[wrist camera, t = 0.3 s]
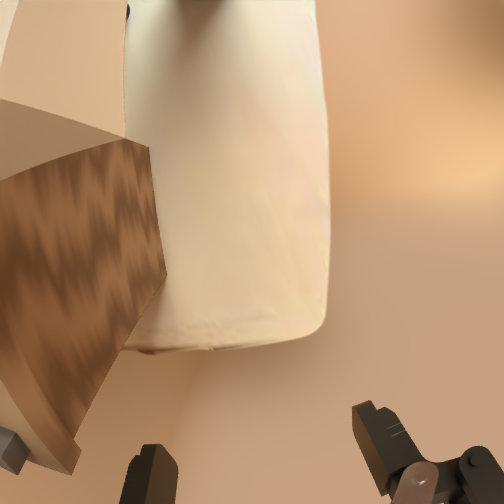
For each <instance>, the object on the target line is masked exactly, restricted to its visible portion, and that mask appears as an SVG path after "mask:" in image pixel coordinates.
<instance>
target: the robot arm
mask: <svg viewBox="0 0 504 504" xmlns="http://www.w3.org/2000/svg"><path fill="white" fill-rule="evenodd" d="M352 426H353V432H354V436H355V438H356V441H357V443H358V445H359V447H360V449H361V452H362V454H363V456H364V458H365V461H366V463H367V465H368V467H369V470H370V472H371V474H372V476H373V478H374V480H375V483H376V485H377V487H378V490H379V492H380V494H381V496H384V495H386V494H389V496H390V498H391V500H392V501H391V503H390V504H440V503H444V504H504V472H503V471H502V469H501V467H500V466H499V465H498V463H497V461H496V460H495V458H494V457H493V455H492V454H491V453H490V451H489V450H488V449H487V448H485V447H483V446H474V447H471V448H469V449H468V450H466V451H465V452H464V453H463V455H462V456H461V457H458V458H455V459H452V460H448V461H445V462H439V463H435V462H430V461H428V460H426V459H425V458H424V457H423V456H422V455H421V453H420V452H419V450H418V449H417V447H416V445H415V444H414V442H413V441H412V439H411V437H410V436H409V434H408V433H407V431H405V428H404V427H403V425H402V424H401V422H400V420H399V419H398V417H397V415H396V414H395V413H394V412H393V411H391V410H389V409H388V408H386V407H383V408H381V409H378V410H376V408H375V407H374V405H373V403H372V402H371V401H370V400H368V401H366V402H363V403H361V404H358V405H355V406H353V407H352ZM177 479H178V466H177V464H176V462H175V460H174V459H173V458H172V457H171V456H170V454H169V453H168V452H167V451H166V449H165V448H164V447H163V446H162V445H161V444H145V445H143V446H142V449H141V452H140V455H136V456H135V457H134V458H133V459H132V461H131V462H130V464H129V467H128V471H127V475H126V478H125V482H124V486H123V490H122V494H121V498H120V502H119V504H175V497H176V488H177Z"/></svg>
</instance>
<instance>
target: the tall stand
mask: <svg viewBox="0 0 504 504" xmlns="http://www.w3.org/2000/svg"><path fill="white" fill-rule="evenodd" d="M166 275H167V272H166V267H165V262H164V256H163V251H162V245H161V239H160V233H159V227H158V220H157V214H156V207H155V199H154V192H153V184H152V175H151V166H150V157H149V147H146V146H144V145H141V144H138V143H136V142H133V141H130V140H127V139H121V140H117V141H113V142H109V143H105V144H102V145H98V146H95V147H91V148H88V149H84V150H81V151H78V152H75V153H71V154H68V155H65V156H62V157H59V158H56V159H54V160H51V161H48V162H45V163H43V164H40V165H37V166H35V167H32V168H30V169H27V170H25V171H22V172H20V173H17V174H15V175H13V176H10V177H8V178H6V179H3V180H1V181H0V466H1V467H2V468H4V469H6V470H8V471H10V472H12V473H14V474H16V475H19V473H20V471H21V469H22V467H23V465H24V463H25V461H26V460H28V461H31V462H33V463H36V464H38V465H41V466H44V467H46V468H49V469H52V470H55V471H58V472H61V473H64V474H68V475H72V473H73V470H74V468H75V466H76V463H77V461H78V458H79V456H80V454H81V451H82V450H81V449H80V448H79V447H78V445H77V444H76V442H75V441H74V440H73V439H74V437H75V435H76V433H77V431H78V428H79V426H80V424H81V423H82V421H83V419H84V417H85V414H86V412H87V411H88V409H89V407H90V405H91V403H92V401H93V399H94V397H95V395H96V393H97V392H98V390H99V388H100V386H101V384H102V382H103V381H104V379H105V377H106V375H107V373H108V371H109V369H110V368H111V366H112V364H113V363H114V361H115V359H116V357H117V355H118V353H119V352H120V350H121V349H122V347H123V345H124V343H125V342H126V340H127V338H128V337H129V335H130V333H131V332H132V330H133V328H134V326H135V325H136V323H137V322H138V320H139V318H140V317H141V315H142V313H143V312H144V310H145V308H146V307H147V305H148V304H149V302H150V300H151V299H152V297H153V296H154V294H155V292H156V291H157V289H158V288H159V286H160V285H161V283H162V281H163V280H164V278H165V277H166Z"/></svg>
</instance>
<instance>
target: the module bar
mask: <svg viewBox="0 0 504 504" xmlns="http://www.w3.org/2000/svg"><path fill="white" fill-rule="evenodd" d="M126 12H127V0H0V181H1V180H3V179H6V178H8V177H10V176H13V175H15V174H17V173H20V172H22V171H25V170H27V169H30V168H32V167H35V166H37V165H40V164H43V163H45V162H48V161H51V160H54V159H56V158H59V157H62V156H65V155H68V154H71V153H75V152H78V151H81V150H84V149H88V148H91V147H95V146H98V145H102V144H105V143H109V142H113V141H117V140H121V139H125V138H126V134H125V116H124V40H125V24H126Z"/></svg>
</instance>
